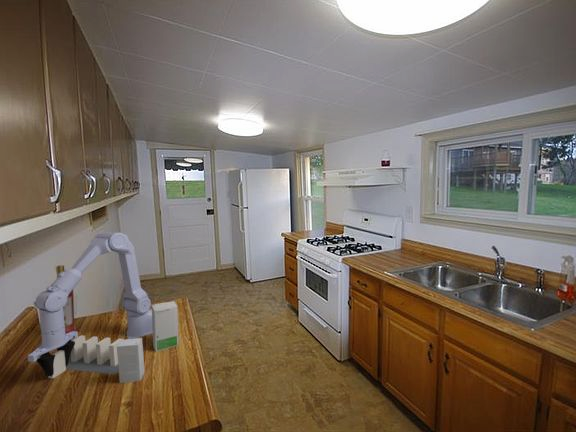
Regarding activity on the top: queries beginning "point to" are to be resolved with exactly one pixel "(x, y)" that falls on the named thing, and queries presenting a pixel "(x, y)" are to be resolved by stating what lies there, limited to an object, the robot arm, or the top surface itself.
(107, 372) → the runner mat
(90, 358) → the domino
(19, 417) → the top surface
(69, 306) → the liquor
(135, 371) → the skincare box
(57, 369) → the domino
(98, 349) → the domino
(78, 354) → the domino
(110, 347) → the domino
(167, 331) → the skincare box
